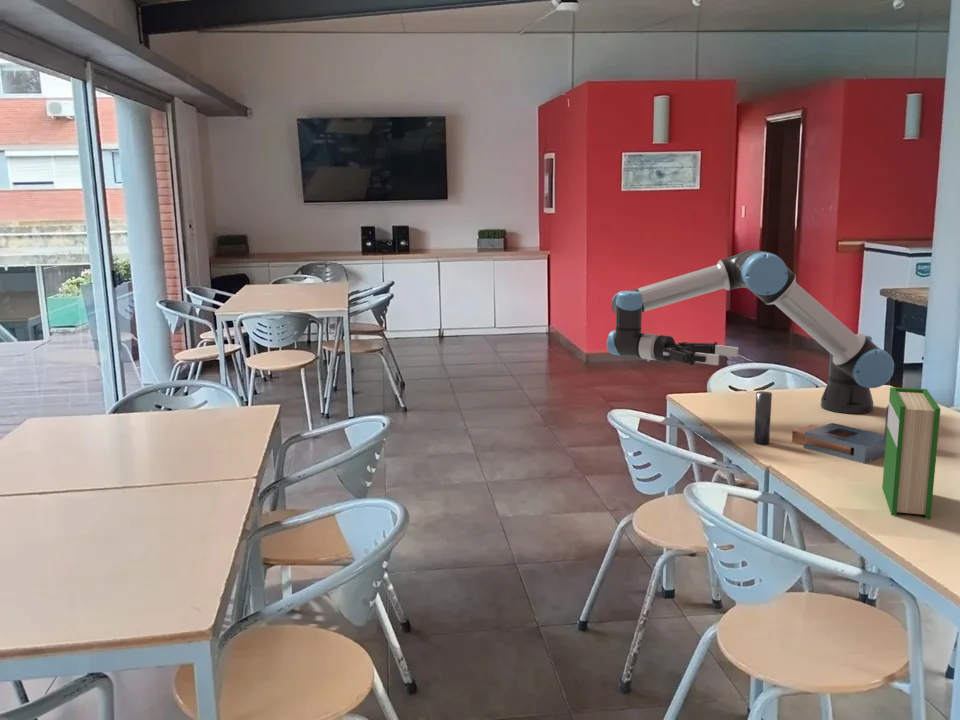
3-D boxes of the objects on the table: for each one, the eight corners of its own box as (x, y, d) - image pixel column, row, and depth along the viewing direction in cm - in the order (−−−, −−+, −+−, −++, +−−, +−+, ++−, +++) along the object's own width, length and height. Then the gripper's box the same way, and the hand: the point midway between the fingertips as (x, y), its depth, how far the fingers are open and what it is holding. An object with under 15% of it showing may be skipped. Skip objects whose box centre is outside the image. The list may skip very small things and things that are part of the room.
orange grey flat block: (787, 443, 231) (788, 427, 230) (814, 434, 239) (815, 419, 238) (864, 463, 214) (865, 446, 213) (891, 453, 221) (892, 436, 220)
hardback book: (930, 519, 178) (940, 408, 173) (891, 515, 181) (900, 406, 176) (917, 490, 194) (926, 389, 190) (882, 487, 197) (890, 387, 192)
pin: (759, 439, 235) (762, 390, 232) (772, 442, 232) (774, 393, 229) (750, 442, 233) (753, 392, 230) (763, 445, 230) (765, 395, 227)
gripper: (676, 353, 257) (744, 361, 244) (637, 367, 238) (708, 377, 225) (677, 329, 255) (746, 336, 243) (637, 341, 236) (710, 349, 223)
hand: (728, 356), depth 234 cm, fingers open, 13 cm apart
